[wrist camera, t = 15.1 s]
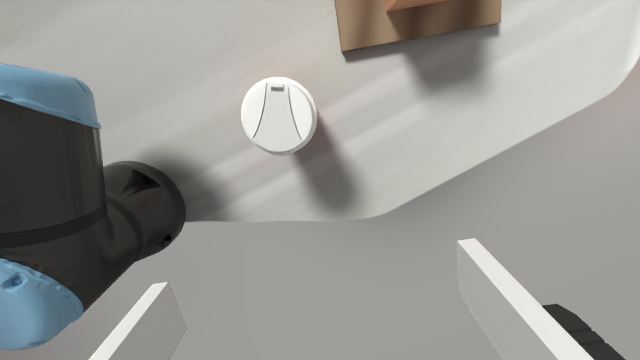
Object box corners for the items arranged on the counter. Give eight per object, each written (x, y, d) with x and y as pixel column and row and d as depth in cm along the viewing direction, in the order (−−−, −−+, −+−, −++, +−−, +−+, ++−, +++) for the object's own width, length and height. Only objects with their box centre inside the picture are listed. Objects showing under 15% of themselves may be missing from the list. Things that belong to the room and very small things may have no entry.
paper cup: (263, 77, 41) (235, 74, 27) (319, 79, 41) (318, 78, 27) (264, 134, 43) (239, 157, 30) (317, 136, 43) (315, 160, 30)
